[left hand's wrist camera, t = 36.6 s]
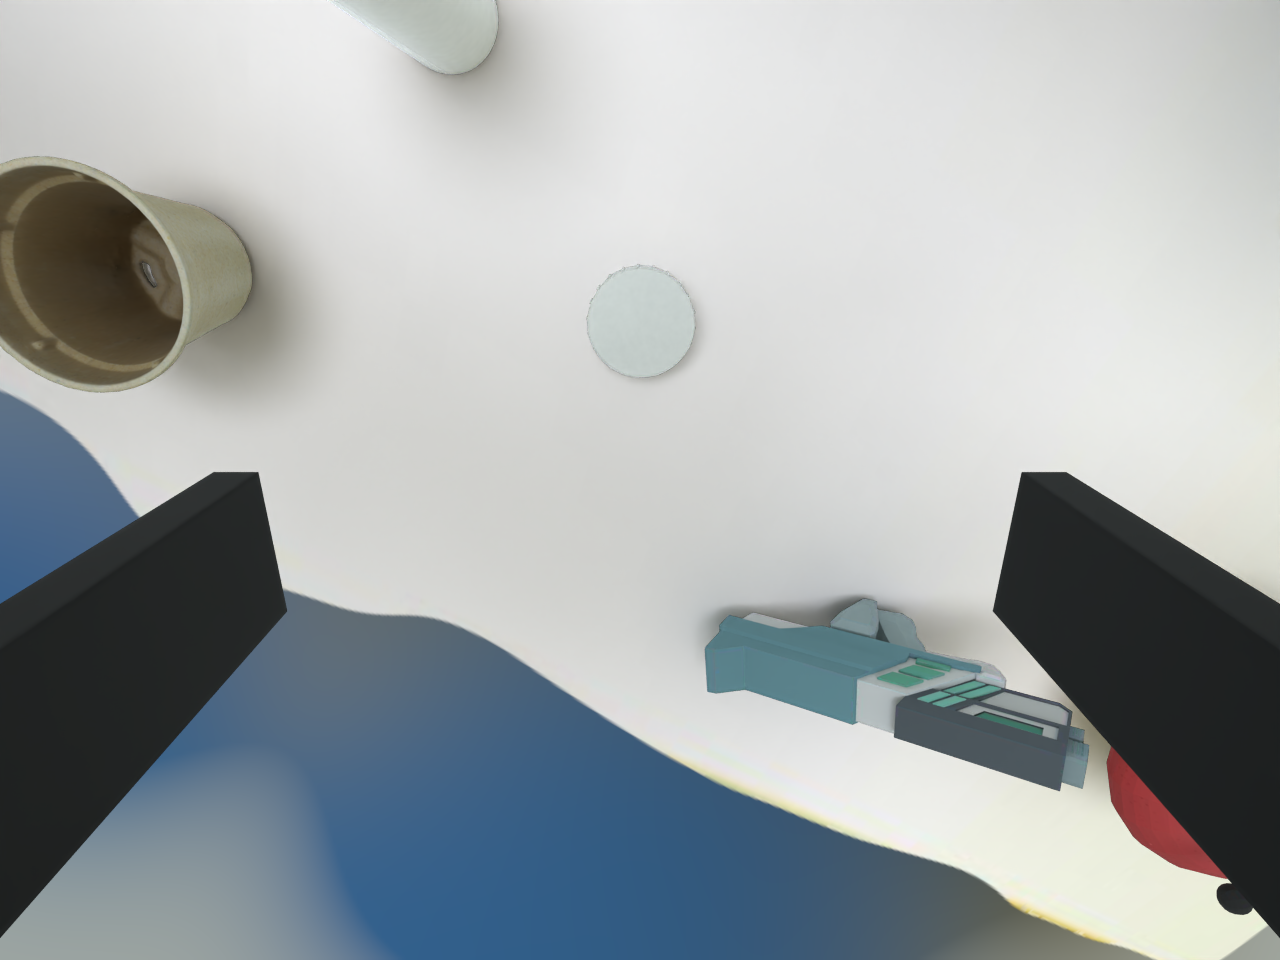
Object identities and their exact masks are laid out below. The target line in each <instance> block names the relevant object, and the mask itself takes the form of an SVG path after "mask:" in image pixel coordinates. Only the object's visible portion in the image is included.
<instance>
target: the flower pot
mask: <svg viewBox="0 0 1280 960" xmlns="http://www.w3.org/2000/svg"><path fill="white" fill-rule="evenodd" d="M143 262H145V263H147V264H148V265H150V268H151V273H152V275H153V278H154V280H155V282H156V286H155V287H153V285H152V284H151V282H149V281H148V278H147V276H146V274H145V272H144V270H143V265H142V263H143ZM251 287H252V273H251V266H250V262H249V258H248V255H247V253H246V251H245V248H244V247H243V245H242V243H241V241H240V240H239V238H238V237H237V235H236V234H235V233H234V231H233V230H232V229H231V228H230V227H229V226H228V225H226V224H225V223H224V222H222V221H221V220H220V219H218V218H217V217H215V216H214V215H212V214H211V213H209V212H208V211H206V210H204V209H202V208H199V207H197V206H193V205H189V204H184V203H180V202H176V201H172V200H168V199H164V198H160V197H156V196H152V195H148V194H144V193H140V192H136V191H132V190H131V189H130V188H128V187H127V186H126V185H124V184H123V183H121V182H120V181H118V180H116V179H115V178H113V177H111V176H110V175H108V174H106V173H104V172H102V171H100V170H97V169H95V168H93V167H90V166H87V165H84V164H81V163H78V162H75V161H71V160H66V159H61V158H55V157H39V156H34V157H24V158H18V159H14V160H11V161H8V162H5V163H3V164H0V346H1V347H2V348H3V349H4V350H5V351H6V352H7V353H8V354H10V355H11V356H13V357H14V358H15V359H16V360H17V361H18V362H20V363H21V364H23V365H24V366H25V367H27V368H28V369H29V370H31V371H33V372H35V373H36V374H38V375H40V376H42V377H44V378H46V379H48V380H50V381H53V382H55V383H58V384H61V385H63V386H65V387H68V388H73V389H77V390H82V391H88V392H100V393H102V392H117V391H123V390H127V389H131V388H135V387H138V386H140V385H143V384H145V383H147V382H150V381H151V380H153V379H155V378H156V377H158V376H159V375H161V374H162V373H164V372H165V371H166V370H167V369H168V368H169V367H171V366H172V365H173V363H174V362H175V361H176V360H177V359H178V357H179V356H180V354H181V353H182V351H183V349H184V348H185V346H186V345H187V344H189V343H190V342H192V341H194V340H196V339H197V338H199V337H201V336H202V335H204V334H206V333H208V332H209V331H211V330H213V329H215V328H217V327H219V326H220V325H222V324H224V323H227V322H228V321H230V320H232V319H233V318H234V317H236V316H237V315H238V314H239V312H240V311H241V309H242V308H243V306H244V304H245V302H246V300H247V298H248V296H249V293H250V291H251Z"/></svg>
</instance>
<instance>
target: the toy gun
mask: <svg viewBox="0 0 1280 960" xmlns="http://www.w3.org/2000/svg"><path fill="white" fill-rule="evenodd" d="M719 628H720V632H719V633H718V634H717V635H716V636H715V638H714V639H713V640H712V641H711V642H710V643H709V644H708V645H707V646H706V647H705V659H706V676H707V692H712V693H723V692H731V691H738V690H748V691H751V692H754V693H757V694H760V695H763V696H767V697H770V698H773V699H776V700H779V701H782V702H785V703H788V704H791V705H794V706H797V707H800V708H803V709H806V710H809V711H813V712H816V713H819V714H822V715H825V716H828V717H831V718H834V719H837V720H840V721H843V722H846V723H849V724H852V725H853V724H855V723H858V722H860V723H863V724H866V725H869V726H872V727H875V728H878V729H881V730H884V731H887V732H891V733H894V738H898V739H901V740H904V741H907V742H910V743H913V744H916V745H919V746H922V747H925V748H928V749H931V750H934V751H937V752H941V753H944V754H947V755H950V756H953V757H956V758H959V759H962V760H965V761H968V762H971V763H974V764H977V765H980V766H984V767H987V768H990V769H993V770H996V771H999V772H1002V773H1005V774H1008V775H1011V776H1014V777H1017V778H1020V779H1023V780H1026V781H1030V782H1033V783H1036V784H1039V785H1042V786H1045V787H1048V788H1051V789H1054V790H1057V791H1060V788H1061V782H1063V783H1066V784H1069V785H1072V786H1075V787H1078V788H1081V789H1083V784H1084V778H1085V773H1086V768H1087V762H1088V753H1089V745H1087V744H1084V743H1083V740H1084V731H1085V730H1082V729H1079V728H1075V727H1072V726H1070V724H1071V717H1072V711H1070V710H1069V709H1068V708H1066V707H1065V706H1063V705H1062V704H1060V703H1057V702H1054V701H1050V700H1046V699H1042V698H1039V697H1035V696H1031V695H1027V694H1024V693H1020V692H1016V691H1012V690H1009V689H1005V686H1006V679H1005V677H1004V676H1003V675H1002V673H1001V672H1000V671H999V670H998V669H997V668H996V667H995V666H993V665H991V664H988V663H985V662H982V661H978V660H969V659H963V658H958V657H953V656H948V655H942V654H937V653H932V652H927V651H925V648H924V646H923V644H922V643H921V642H920V641H919V639H918V638H917V635H916V627H915V624H914V622H913V621H912V620H911V619H910V618H908V617H907V616H905V615H904V614H902V613H894V612H889V611H884V610H879V609H877V601H873V600H868V599H862V600H860V601H859V602H857V603H855V604H853V605H852V606H850V607H848V608H846V609H845V610H843V611H841V612H840V613H839V614H838V615H837V616H836V617H835V618H834V619H833V620H832V621H831V622H830V628H829V627H825V626H812V627H807V626H803V625H800V624H796V623H792V622H788V621H784V620H780V619H776V618H772V617H769V616H765V615H761V614H757V613H751V614H749V615H747V616H746V617H744V618H738V617H735V616H731V615H729V616H728V617H727V618H726V619H725V620H724V621H723V622H722V623H721V624H720V625H719Z"/></svg>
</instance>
